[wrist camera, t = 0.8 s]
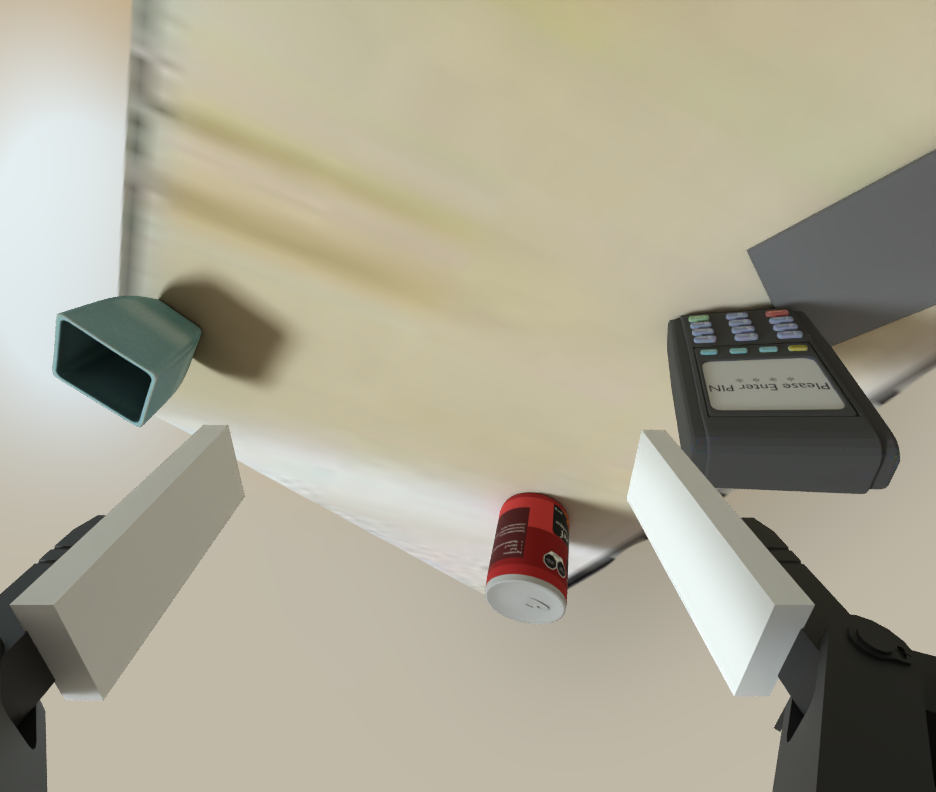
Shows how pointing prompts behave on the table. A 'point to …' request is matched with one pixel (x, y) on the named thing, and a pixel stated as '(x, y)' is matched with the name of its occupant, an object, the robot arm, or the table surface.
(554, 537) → the canned food
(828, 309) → the mat
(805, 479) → the card reader
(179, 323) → the flower pot
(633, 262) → the table surface
